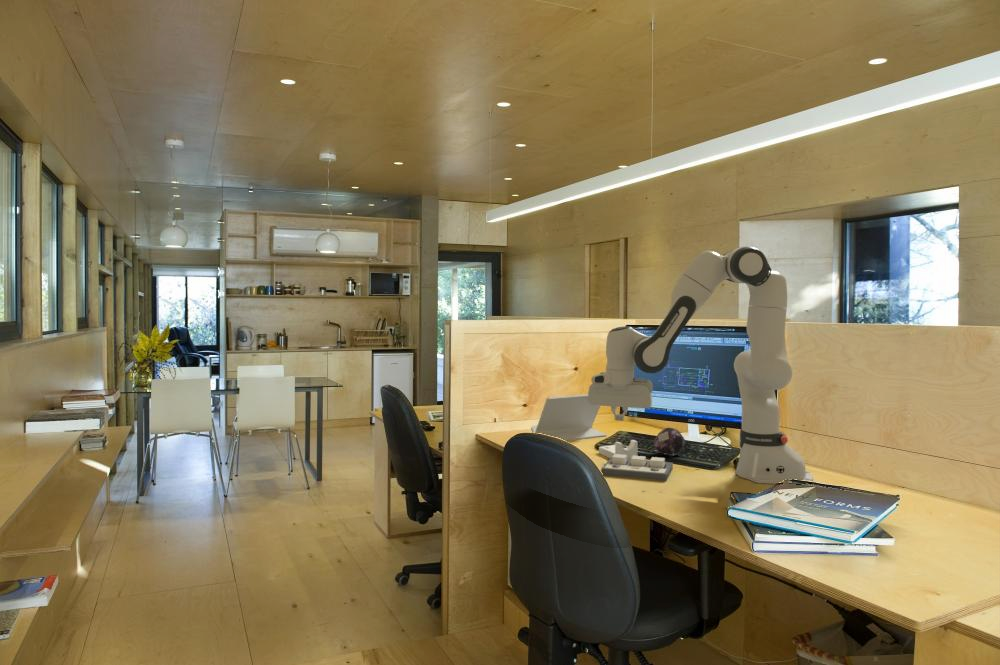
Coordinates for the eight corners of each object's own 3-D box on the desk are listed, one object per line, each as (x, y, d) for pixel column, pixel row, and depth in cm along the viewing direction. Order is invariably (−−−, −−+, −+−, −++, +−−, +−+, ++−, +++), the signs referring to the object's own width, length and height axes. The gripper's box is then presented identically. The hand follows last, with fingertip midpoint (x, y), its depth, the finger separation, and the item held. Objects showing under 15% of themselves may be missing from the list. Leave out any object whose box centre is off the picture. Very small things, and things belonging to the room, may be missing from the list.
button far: (627, 462, 228) (627, 454, 228) (624, 465, 224) (624, 458, 224) (614, 461, 229) (614, 453, 229) (612, 464, 226) (612, 456, 226)
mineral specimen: (645, 447, 250) (655, 421, 251) (670, 457, 253) (680, 431, 253) (658, 453, 241) (668, 426, 241) (683, 463, 243) (694, 436, 244)
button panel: (672, 471, 226) (672, 461, 226) (666, 484, 213) (666, 473, 213) (611, 466, 234) (611, 456, 233) (601, 477, 221) (601, 467, 220)
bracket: (637, 463, 238) (637, 441, 237) (619, 466, 235) (619, 443, 234) (616, 454, 250) (616, 433, 249) (598, 456, 247) (598, 435, 246)
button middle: (645, 464, 226) (645, 456, 226) (643, 467, 222) (643, 459, 222) (633, 463, 227) (633, 455, 227) (630, 466, 224) (630, 458, 223)
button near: (664, 465, 224) (664, 458, 223) (663, 469, 220) (663, 461, 220) (652, 464, 225) (652, 457, 225) (650, 467, 221) (650, 460, 221)
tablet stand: (607, 436, 276) (607, 393, 275) (550, 443, 267) (550, 398, 265) (585, 427, 293) (585, 386, 291) (530, 433, 283) (529, 391, 282)
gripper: (654, 377, 224) (654, 420, 225) (591, 374, 231) (591, 416, 232) (651, 380, 218) (650, 424, 219) (586, 377, 225) (586, 420, 226)
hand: (619, 420), depth 226 cm, fingers closed
